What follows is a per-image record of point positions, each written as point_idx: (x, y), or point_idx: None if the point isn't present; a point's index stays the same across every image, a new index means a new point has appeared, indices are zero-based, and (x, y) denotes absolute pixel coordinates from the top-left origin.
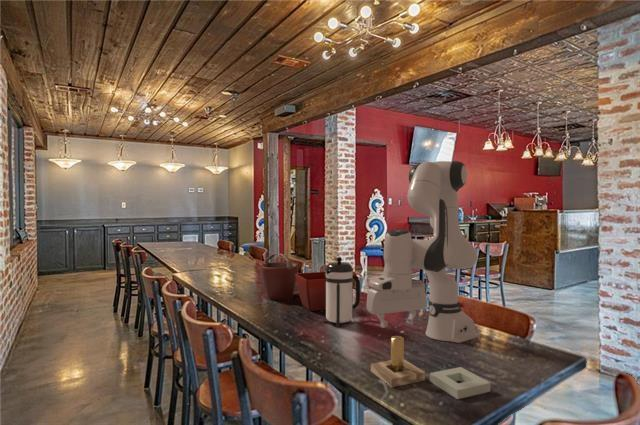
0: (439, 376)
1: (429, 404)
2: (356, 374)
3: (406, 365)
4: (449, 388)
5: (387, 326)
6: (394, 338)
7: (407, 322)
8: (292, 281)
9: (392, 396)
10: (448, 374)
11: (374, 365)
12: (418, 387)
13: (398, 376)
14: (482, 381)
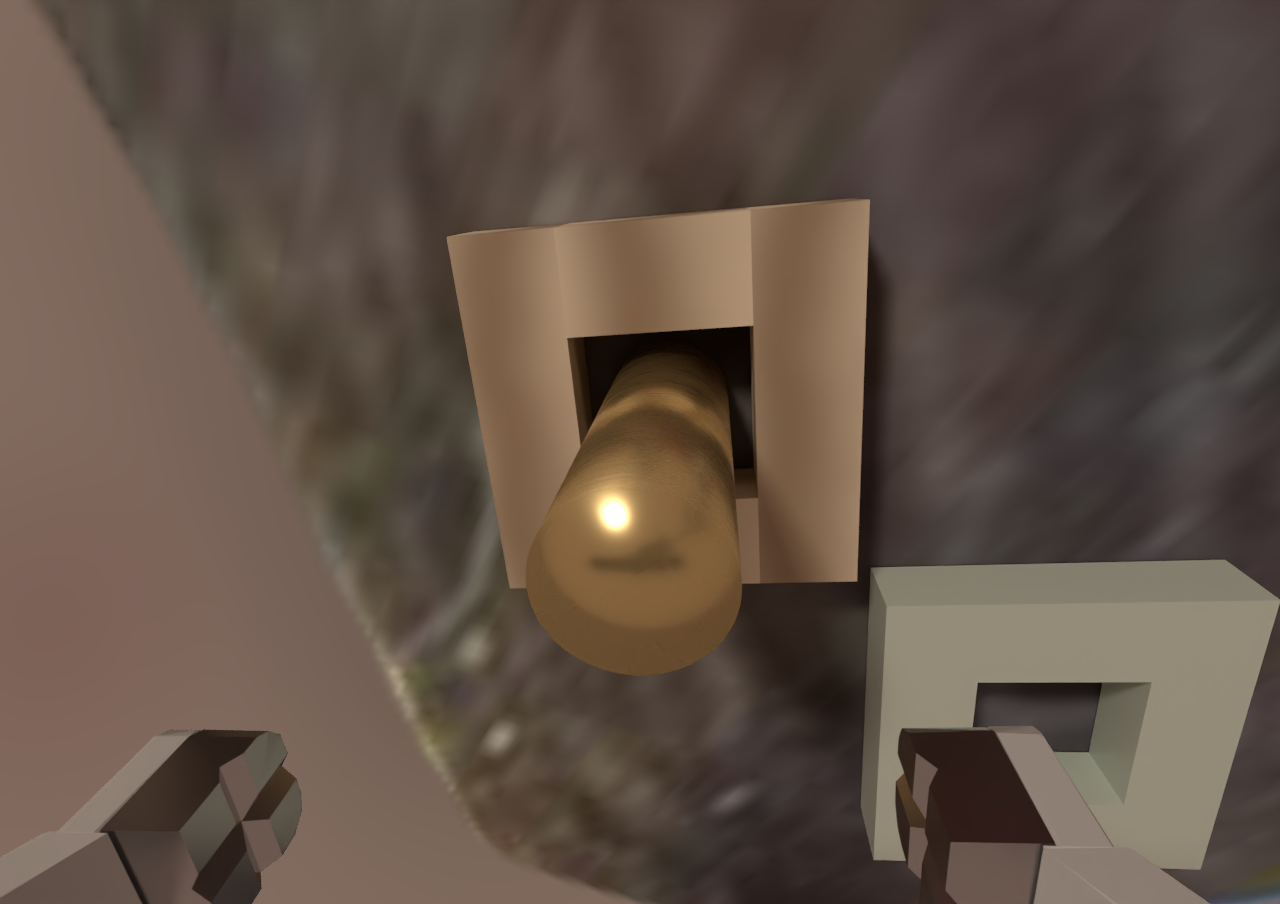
0: (917, 679)
1: (656, 789)
2: (324, 249)
3: (787, 401)
4: (871, 780)
5: (291, 835)
6: (573, 590)
7: (913, 785)
8: None
9: (482, 652)
10: (1021, 677)
11: (467, 293)
12: None
13: None
14: (1165, 839)
